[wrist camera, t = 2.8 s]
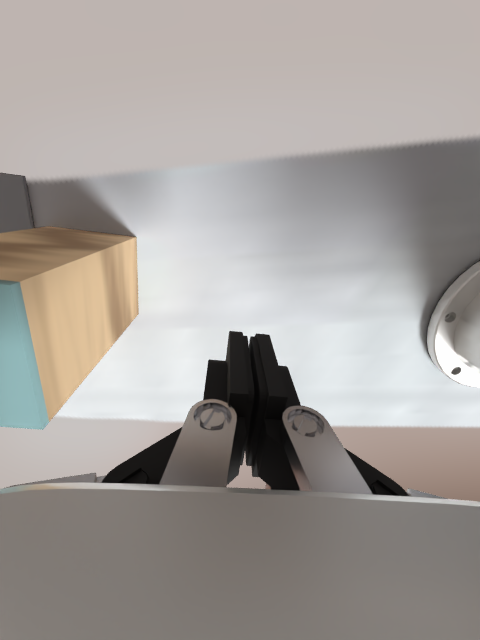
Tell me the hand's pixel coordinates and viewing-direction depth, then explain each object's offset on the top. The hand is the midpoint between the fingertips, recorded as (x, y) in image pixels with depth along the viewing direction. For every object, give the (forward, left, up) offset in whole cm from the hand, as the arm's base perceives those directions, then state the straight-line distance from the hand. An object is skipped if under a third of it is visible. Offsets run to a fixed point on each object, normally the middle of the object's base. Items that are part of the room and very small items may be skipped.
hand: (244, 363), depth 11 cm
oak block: (+11, 0, -11) cm, 15 cm away
